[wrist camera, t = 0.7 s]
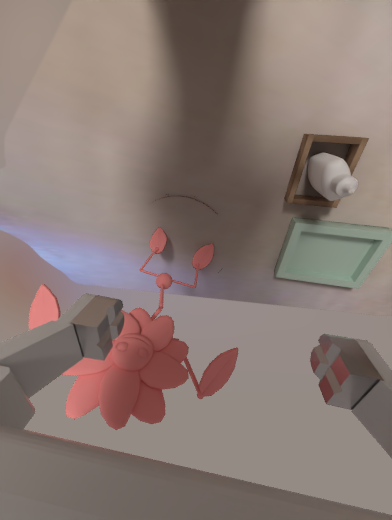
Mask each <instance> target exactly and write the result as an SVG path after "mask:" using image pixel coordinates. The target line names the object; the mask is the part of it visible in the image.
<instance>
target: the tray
mask: <svg viewBox="0 0 392 520" xmlns="http://www.w3.org/2000/svg"><path fill="white" fill-rule="evenodd" d="M391 242H392V230H391V229H389V228H386V227H376V226H367V225H358V224H348V223H339V222H330V221H320V220H311V219H302V218H292V221H291V224H290V226H289V229H288V232H287V235H286V238H285V241H284V244H283V247H282V249H281V252H280V255H279V258H278V261H277V264H276V267H275V270H274V272H275V275H276V277H278V278H285V279H292V280H300V281H307V282H314V283H321V284H328V285H335V286H342V287H349V288H356V289H359V288H360V286H361V285H362V283H363V282H364V281H365V279H366V278H367V276H368V275H369V273H370V272H371V271H372V269H373V268H374V266H375V265H376V264H377V262H378V261H379V259H380V258H381V256H382V255H383V254H384V252H385V251H386V249H387V248H388V247H389V245H390V244H391Z"/></svg>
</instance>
